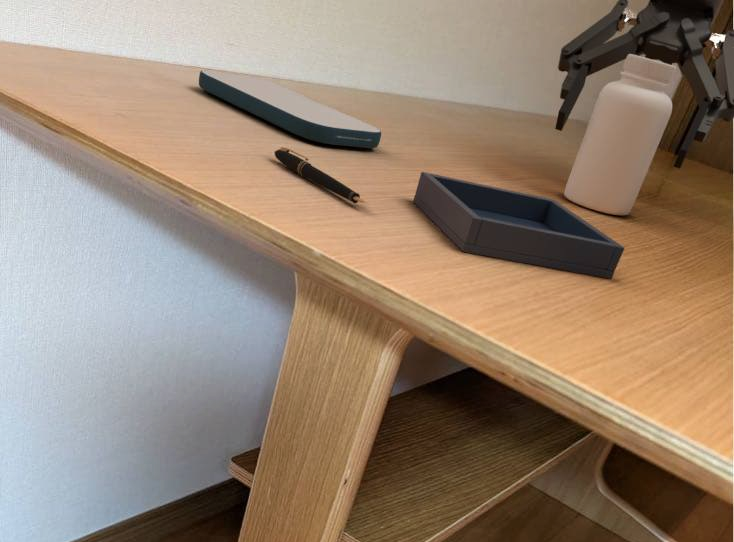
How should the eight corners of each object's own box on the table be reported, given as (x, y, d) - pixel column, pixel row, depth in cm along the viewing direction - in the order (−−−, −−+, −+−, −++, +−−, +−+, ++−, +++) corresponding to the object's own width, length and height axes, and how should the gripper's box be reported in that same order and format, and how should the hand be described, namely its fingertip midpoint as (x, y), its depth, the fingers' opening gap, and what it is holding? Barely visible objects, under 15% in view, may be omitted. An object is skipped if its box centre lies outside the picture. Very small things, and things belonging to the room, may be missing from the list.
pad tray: (544, 227, 78) (554, 199, 76) (611, 279, 67) (625, 247, 66) (412, 201, 74) (421, 171, 72) (462, 251, 63) (473, 217, 62)
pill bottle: (589, 196, 99) (644, 56, 91) (641, 219, 94) (705, 74, 86) (547, 192, 94) (601, 45, 86) (600, 216, 90) (663, 62, 81)
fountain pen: (371, 213, 66) (376, 194, 66) (360, 212, 66) (365, 193, 65) (278, 159, 75) (281, 142, 74) (267, 158, 74) (270, 140, 73)
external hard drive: (186, 85, 96) (188, 66, 95) (264, 96, 103) (267, 78, 102) (310, 147, 83) (315, 126, 82) (389, 154, 91) (394, 134, 89)
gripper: (788, 48, 94) (720, 198, 90) (580, -10, 99) (509, 130, 95) (818, -11, 86) (745, 150, 83) (592, -69, 92) (515, 80, 88)
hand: (619, 140), depth 89 cm, fingers open, 13 cm apart
